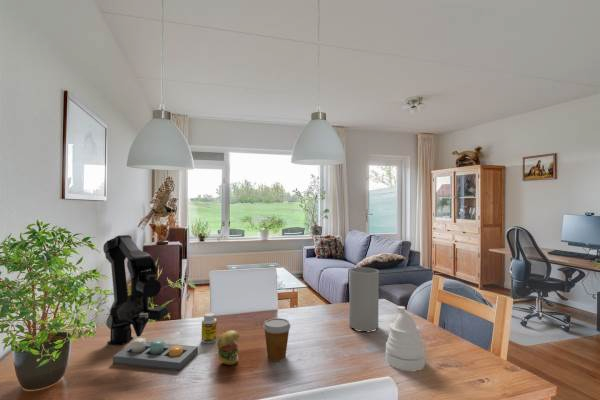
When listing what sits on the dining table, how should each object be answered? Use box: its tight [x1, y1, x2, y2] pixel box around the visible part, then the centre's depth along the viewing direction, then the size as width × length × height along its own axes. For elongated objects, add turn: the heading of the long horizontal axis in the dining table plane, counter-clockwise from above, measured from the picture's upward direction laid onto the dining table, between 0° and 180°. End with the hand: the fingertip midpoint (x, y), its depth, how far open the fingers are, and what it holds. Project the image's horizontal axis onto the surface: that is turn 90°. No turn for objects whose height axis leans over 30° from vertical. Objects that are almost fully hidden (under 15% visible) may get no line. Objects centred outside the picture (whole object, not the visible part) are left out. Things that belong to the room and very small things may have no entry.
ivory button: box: [131, 337, 147, 353], centre depth 111 cm, size 4×4×3 cm
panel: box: [112, 341, 199, 372], centre depth 110 cm, size 24×12×3 cm, turn 81°
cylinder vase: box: [348, 266, 380, 331], centre depth 141 cm, size 12×12×25 cm
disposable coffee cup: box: [262, 317, 292, 362], centre depth 112 cm, size 10×10×12 cm
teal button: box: [149, 339, 165, 355], centre depth 110 cm, size 4×4×3 cm
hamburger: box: [216, 326, 240, 366], centre depth 108 cm, size 8×7×12 cm
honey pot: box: [385, 305, 426, 371], centre depth 110 cm, size 13×13×18 cm
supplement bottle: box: [201, 312, 218, 344], centre depth 125 cm, size 6×6×10 cm
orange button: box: [169, 346, 183, 357], centre depth 109 cm, size 4×4×3 cm
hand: (138, 336), depth 111 cm, fingers closed
